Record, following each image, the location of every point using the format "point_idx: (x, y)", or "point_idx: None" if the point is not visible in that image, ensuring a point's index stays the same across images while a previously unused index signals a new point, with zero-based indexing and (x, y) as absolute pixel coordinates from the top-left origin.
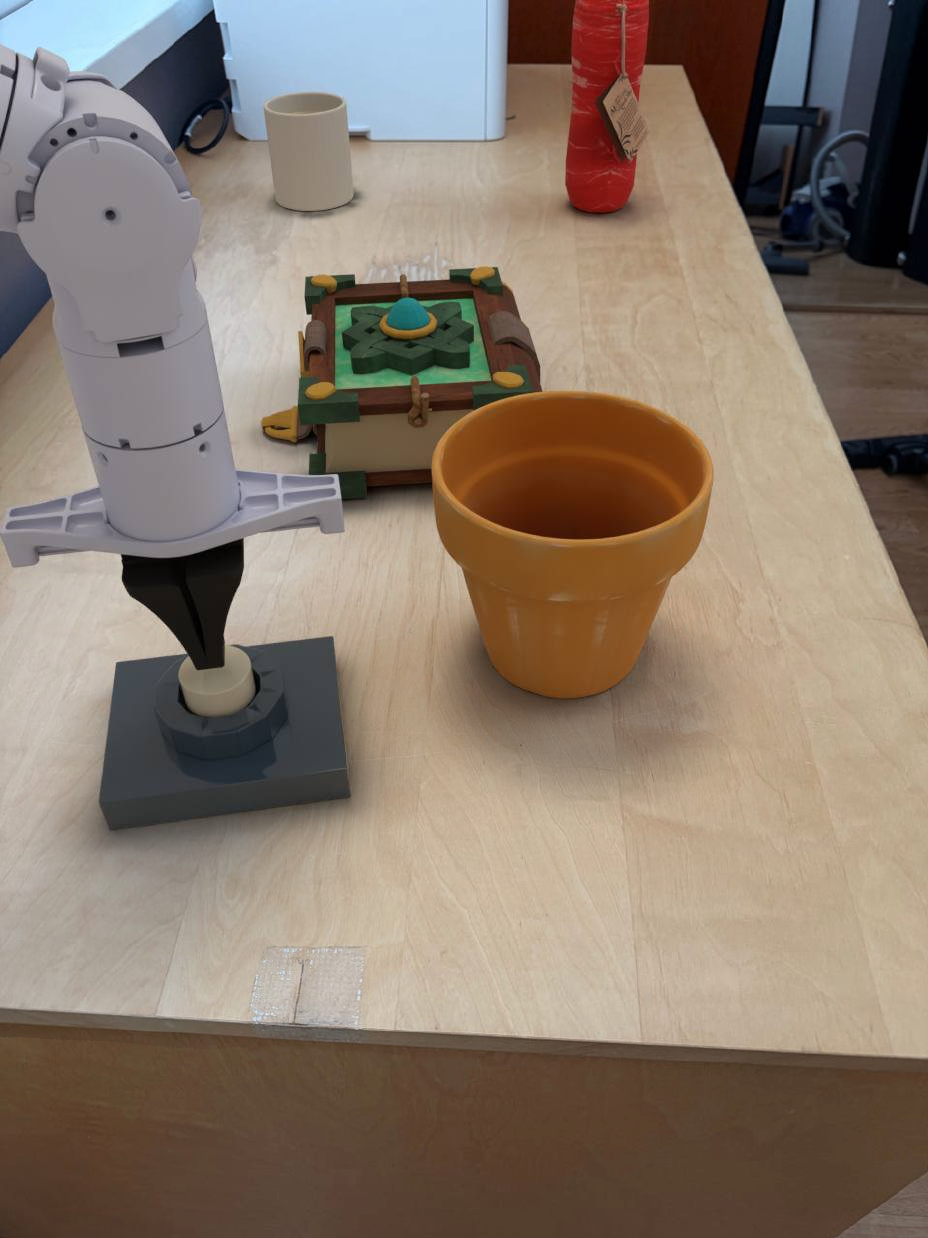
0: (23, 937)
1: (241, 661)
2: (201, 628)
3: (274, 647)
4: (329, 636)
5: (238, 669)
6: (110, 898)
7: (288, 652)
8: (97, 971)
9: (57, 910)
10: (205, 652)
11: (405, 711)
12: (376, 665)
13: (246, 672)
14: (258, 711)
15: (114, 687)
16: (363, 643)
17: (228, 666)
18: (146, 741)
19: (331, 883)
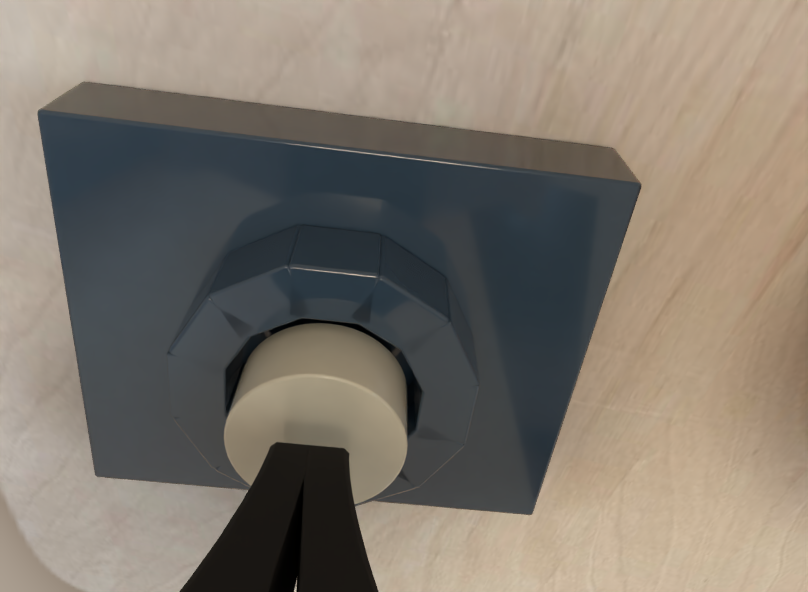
0: (37, 531)
1: (385, 442)
2: (286, 588)
3: (479, 184)
4: (632, 187)
5: (374, 465)
6: (147, 512)
7: (510, 212)
8: (148, 582)
9: (74, 510)
10: (295, 577)
11: (691, 321)
12: (700, 179)
13: (392, 474)
14: (402, 478)
15: (56, 209)
16: (707, 91)
17: (350, 450)
18: (164, 381)
19: (451, 557)
